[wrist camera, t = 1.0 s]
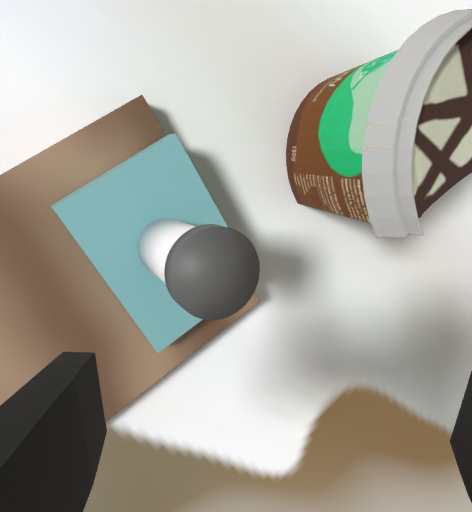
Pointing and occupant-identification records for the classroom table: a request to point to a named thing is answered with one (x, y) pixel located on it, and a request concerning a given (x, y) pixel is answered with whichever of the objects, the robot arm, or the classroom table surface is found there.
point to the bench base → (76, 270)
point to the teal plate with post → (161, 242)
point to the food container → (389, 131)
